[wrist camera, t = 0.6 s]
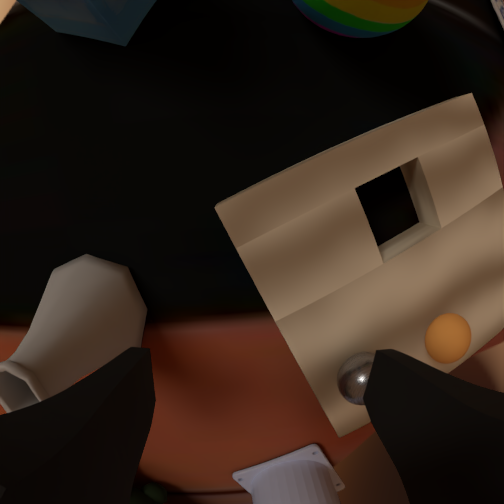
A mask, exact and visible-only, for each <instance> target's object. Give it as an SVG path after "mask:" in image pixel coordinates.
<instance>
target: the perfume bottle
mask: <svg viewBox="0 0 504 504" xmlns="http://www.w3.org/2000/svg"><path fill="white" fill-rule="evenodd" d="M17 1H18V2H19V3H21V4H22V5H23V6H25V7H26V8H27V9H28V10H30V11H31V12H32V13H34V14H35V15H36V16H37V17H39V18H40V19H41V20H42V21H44V22H45V23H46V24H48V25H49V26H50V27H51V28H53V29H54V30H55V31H56V32H61V33H66V34H72V35H77V36H82V37H87V38H92V39H97V40H101V41H105V42H110V43H114V44H118V45H122V46H126V45H127V44H128V42H129V41H130V39H131V37H132V36H133V34H134V33H135V31H136V29H137V28H138V26H139V25H140V23H141V22H142V20H143V19H144V17H145V16H146V14H147V13H148V12H149V10H150V9H151V7H152V6H153V4H154V3H155V2H156V0H17Z"/></svg>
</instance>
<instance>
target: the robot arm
mask: <svg viewBox="0 0 504 504" xmlns="http://www.w3.org/2000/svg"><path fill="white" fill-rule="evenodd" d="M155 401H156V398H155V391H154V382H153V373H152V364H151V354H150V348H139V347H130V348H128V349H127V350H125V351H124V352H122V353H121V354H119V355H118V356H116V357H115V358H114V359H112V360H111V361H109V362H108V363H107V364H105V365H104V366H102V367H101V368H99V369H98V370H96V371H95V372H93V373H92V374H90V375H89V376H87V377H86V378H84V379H82V380H81V381H79V382H77V383H76V384H74V385H72V386H71V387H69V388H67V389H65V390H64V391H62V392H60V393H58V394H56V395H54V396H52V397H50V398H47V399H45V400H43V401H41V402H38V403H36V404H33V405H30V406H27V407H25V408H22V409H19V410H15V411H12V412H9V413H6V414H2V415H0V504H129V503H130V496H131V490H132V486H133V482H134V478H135V475H136V472H137V469H138V465H139V462H140V459H141V456H142V453H143V450H144V447H145V444H146V440H147V437H148V434H149V431H150V428H151V424H152V418H153V413H154V407H155ZM363 401H364V404H365V407H366V410H367V412H368V415H369V418H370V420H371V422H372V424H373V426H374V428H375V430H376V432H377V434H378V436H379V437H380V439H381V441H382V443H383V445H384V446H385V448H386V450H387V452H388V454H389V455H390V457H391V459H392V461H393V463H394V465H395V466H396V468H397V470H398V472H399V475H400V477H401V479H402V482H403V485H404V487H405V490H406V493H407V496H408V498H409V502H410V504H504V393H502V392H497V391H494V390H490V389H487V388H483V387H480V386H477V385H474V384H472V383H469V382H466V381H464V380H461V379H459V378H456V377H454V376H452V375H449V374H447V373H445V372H443V371H441V370H438V369H436V368H434V367H432V366H430V365H428V364H426V363H424V362H422V361H420V360H417V359H415V358H413V357H411V356H409V355H407V354H404V353H402V352H400V351H397V350H394V349H382V350H376V353H375V356H374V360H373V364H372V368H371V371H370V375H369V379H368V382H367V386H366V389H365V392H364V396H363ZM315 451H316V452H315ZM233 479H234V480H236V481H237V482H238V483H239V484H240V485H241V486H242V487H243V488H245V489H246V490H247V491H248V492H249V493H250V494H252V499H253V504H341V503H340V500H339V497H338V494H337V492H338V491H340V490H342V489H344V488H345V484H344V483H343V481H342V480H341V478H340V477H339V475H338V474H337V473H336V471H335V470H334V468H333V467H332V465H331V464H330V462H329V461H328V459H327V458H326V456H325V455H324V453H323V452H322V450H321V449H320V447H319V446H318V445H317V444H311V445H309V446H306V447H304V448H301V449H299V450H296V451H294V452H291V453H289V454H286V455H284V456H281V457H278V458H276V459H273V460H270V461H267V462H264V463H262V464H259V465H256V466H253V467H250V468H246V469H243V470H240V471H237V472H234V473H233Z"/></svg>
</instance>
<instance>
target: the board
mask: <svg viewBox="0 0 504 504" xmlns="http://www.w3.org/2000/svg"><path fill="white" fill-rule="evenodd" d="M398 166H400V168H401V171H402V174H403V176H404V179H405V181H406V184H407V187H408V190H409V192H410V195H411V198H412V201H413V204H414V207H415V210H416V213H417V216H418V219H419V223H418V224H416V225H414V226H413V227H411V228H409V229H408V230H406V231H404V232H402V233H401V234H399V235H397V236H396V237H394V238H392V239H390V240H389V241H387V242H385V243H383V244H382V245H380V246H378V247H377V244H376V241H375V238H374V236H373V233H372V230H371V228H370V225H369V223H368V220H367V218H366V215H365V213H364V210H363V208H362V205H361V203H360V200H359V198H358V195H357V193H356V191H355V188H356V187H358V186H360V185H362V184H364V183H366V182H368V181H370V180H372V179H374V178H376V177H378V176H380V175H382V174H384V173H386V172H388V171H390V170H392V169H394V168H396V167H398ZM215 209H216V211H217V213H218V215H219V217H220V219H221V221H222V223H223V225H224V226H225V228H226V230H227V232H228V234H229V236H230V238H231V240H232V242H233V244H234V245H235V247H236V249H237V251H238V253H239V255H240V257H241V259H242V260H243V262H244V264H245V266H246V268H247V270H248V272H249V274H250V275H251V277H252V279H253V281H254V283H255V285H256V287H257V289H258V290H259V292H260V294H261V296H262V298H263V300H264V302H265V303H266V305H267V307H268V309H269V311H270V313H271V315H272V316H273V318H274V320H275V322H276V324H277V326H278V327H279V329H280V331H281V333H282V335H283V337H284V339H285V340H286V342H287V344H288V346H289V348H290V350H291V351H292V353H293V355H294V357H295V359H296V361H297V362H298V364H299V366H300V368H301V370H302V371H303V373H304V375H305V377H306V379H307V381H308V382H309V384H310V386H311V388H312V390H313V392H314V393H315V395H316V397H317V399H318V401H319V402H320V404H321V406H322V408H323V410H324V411H325V413H326V415H327V417H328V419H329V420H330V422H331V424H332V426H333V428H334V429H335V431H336V433H337V435H338V437H339V438H340V437H342V436H344V435H346V434H348V433H350V432H352V431H354V430H356V429H358V428H360V427H362V426H364V425H366V424H368V423H369V422H371V420H370V418H369V415H368V412H367V410H366V407H365V405H363V406H361V405H355V404H352V403H350V402H348V401H347V400H345V399H344V398H343V397H342V395H341V394H340V392H339V390H338V387H337V374H338V371H339V369H340V367H341V365H342V364H343V362H344V361H345V360H346V359H347V358H349V357H350V356H352V355H354V354H356V353H359V352H373V353H376V350H382V349H394V350H397V351H400V352H402V353H404V354H407V355H409V356H411V357H413V358H415V359H417V360H420V361H422V362H424V363H426V364H428V365H430V366H432V367H434V368H436V369H438V370H441V371H443V372H445V373H447V374H448V373H449V372H450V371H452V370H453V369H454V368H456V367H457V366H458V365H460V364H461V363H462V362H464V361H465V360H466V359H468V358H469V357H470V356H471V355H473V354H474V353H475V352H476V351H478V350H479V349H480V348H481V347H482V346H484V345H485V344H486V343H487V342H488V341H489V340H491V339H492V338H493V337H494V336H495V335H496V334H497V333H499V332H500V331H501V330H502V329H503V328H504V191H503V187H502V183H501V178H500V175H499V171H498V167H497V163H496V160H495V156H494V153H493V150H492V147H491V143H490V140H489V137H488V134H487V131H486V128H485V126H484V123H483V120H482V117H481V115H480V112H479V110H478V107H477V104H476V102H475V100H474V97H473V95H472V93H470V94H466V95H462V96H459V97H455V98H452V99H449V100H446V101H443V102H441V103H438V104H435V105H433V106H430V107H428V108H425V109H422V110H420V111H417V112H415V113H412V114H410V115H407V116H405V117H402V118H400V119H397V120H395V121H393V122H390V123H388V124H385V125H383V126H381V127H378V128H376V129H373V130H371V131H369V132H366V133H364V134H362V135H360V136H357V137H355V138H353V139H350V140H348V141H346V142H344V143H341V144H339V145H337V146H335V147H332V148H330V149H328V150H326V151H324V152H321V153H319V154H317V155H315V156H313V157H311V158H308V159H306V160H304V161H302V162H300V163H298V164H296V165H294V166H292V167H289V168H287V169H285V170H283V171H281V172H279V173H277V174H275V175H273V176H271V177H269V178H267V179H265V180H263V181H261V182H259V183H257V184H255V185H253V186H251V187H249V188H247V189H245V190H243V191H241V192H239V193H237V194H235V195H233V196H231V197H229V198H227V199H225V200H223V201H221V202H219V203H218V204H216V206H215ZM446 313H455V314H458V315H460V316H462V317H463V318H464V319H465V320H466V321H467V322H468V324H469V326H470V329H471V343H470V346H469V349H468V351H467V352H466V354H465V355H464V356H463V357H462V358H461V359H459V360H458V361H456V362H453V363H448V364H444V363H439V362H437V361H435V360H434V359H432V358H431V356H430V355H429V354H428V352H427V350H426V347H425V335H426V331H427V329H428V327H429V325H430V324H431V322H432V321H433V320H434V319H435V318H437V317H438V316H440V315H442V314H446Z"/></svg>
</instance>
